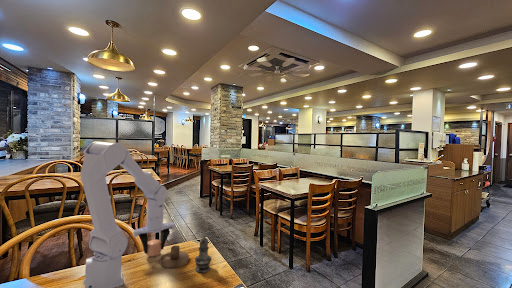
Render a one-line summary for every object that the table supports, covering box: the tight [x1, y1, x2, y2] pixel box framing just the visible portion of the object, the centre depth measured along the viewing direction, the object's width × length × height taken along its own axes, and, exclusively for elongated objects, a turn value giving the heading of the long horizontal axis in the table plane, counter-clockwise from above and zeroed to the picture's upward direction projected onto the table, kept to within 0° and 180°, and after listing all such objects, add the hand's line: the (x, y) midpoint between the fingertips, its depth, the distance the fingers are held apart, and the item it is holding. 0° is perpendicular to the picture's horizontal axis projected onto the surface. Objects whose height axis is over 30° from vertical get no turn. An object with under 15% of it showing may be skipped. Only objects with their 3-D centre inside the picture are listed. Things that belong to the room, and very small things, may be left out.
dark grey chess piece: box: [194, 235, 213, 274], centre depth 78 cm, size 6×6×12 cm
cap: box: [145, 239, 162, 257], centre depth 85 cm, size 5×5×4 cm
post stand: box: [159, 245, 190, 270], centre depth 82 cm, size 10×10×5 cm
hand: (153, 250), depth 85 cm, fingers closed on cap, 5 cm apart
